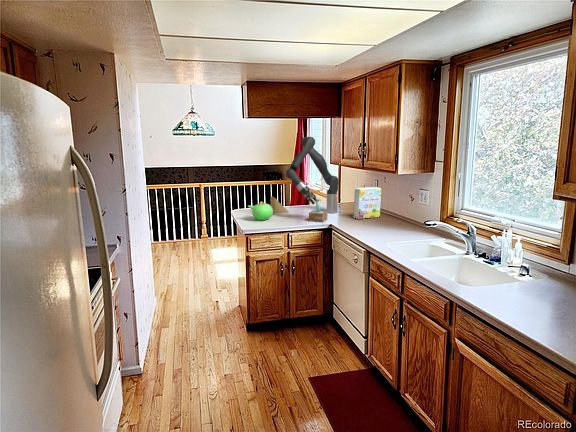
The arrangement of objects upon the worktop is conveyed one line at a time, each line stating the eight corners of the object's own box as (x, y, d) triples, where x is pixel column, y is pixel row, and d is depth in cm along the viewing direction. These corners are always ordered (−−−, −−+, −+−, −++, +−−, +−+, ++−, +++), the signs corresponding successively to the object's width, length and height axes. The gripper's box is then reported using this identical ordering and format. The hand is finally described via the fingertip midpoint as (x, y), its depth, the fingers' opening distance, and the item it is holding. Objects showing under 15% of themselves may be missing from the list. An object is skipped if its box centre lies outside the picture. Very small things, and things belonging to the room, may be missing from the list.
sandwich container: (289, 212, 358) (289, 196, 355) (274, 214, 352) (274, 197, 349) (285, 211, 366) (285, 194, 363) (270, 212, 359) (270, 196, 356)
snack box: (358, 220, 326) (359, 189, 320) (352, 218, 333) (353, 187, 328) (380, 218, 333) (382, 187, 328) (374, 216, 341) (375, 186, 336)
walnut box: (313, 218, 333) (313, 210, 332) (327, 219, 328) (327, 211, 327) (308, 221, 323) (308, 212, 321) (322, 222, 318) (322, 213, 316)
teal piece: (315, 211, 329) (315, 198, 327) (324, 212, 326) (324, 198, 324) (311, 213, 322) (312, 199, 320) (321, 214, 319) (321, 200, 317)
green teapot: (261, 223, 316) (261, 204, 313) (247, 220, 327) (246, 202, 324) (276, 219, 330) (276, 201, 327) (262, 216, 340) (262, 199, 337)
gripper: (302, 186, 318) (316, 201, 315) (309, 184, 330) (322, 198, 328) (296, 192, 321) (309, 207, 319) (303, 190, 334) (315, 204, 331)
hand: (315, 203), depth 323 cm, fingers open, 8 cm apart
